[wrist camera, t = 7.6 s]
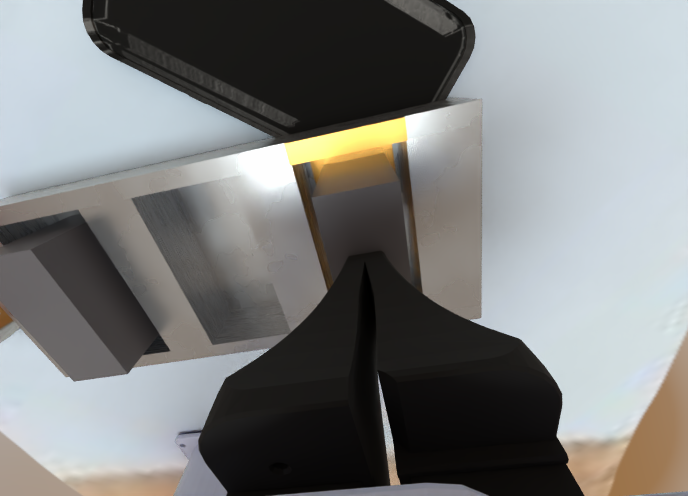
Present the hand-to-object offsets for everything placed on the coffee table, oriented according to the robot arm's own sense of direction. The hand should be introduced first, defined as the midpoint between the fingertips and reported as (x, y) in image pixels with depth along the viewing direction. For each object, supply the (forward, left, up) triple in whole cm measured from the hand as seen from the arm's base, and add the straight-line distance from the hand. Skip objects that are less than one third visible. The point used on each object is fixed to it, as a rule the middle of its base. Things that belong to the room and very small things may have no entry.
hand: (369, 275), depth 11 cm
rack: (0, +7, -6) cm, 9 cm away
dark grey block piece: (0, 0, -5) cm, 5 cm away
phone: (+9, +2, -7) cm, 11 cm away
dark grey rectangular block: (0, +14, -5) cm, 15 cm away
